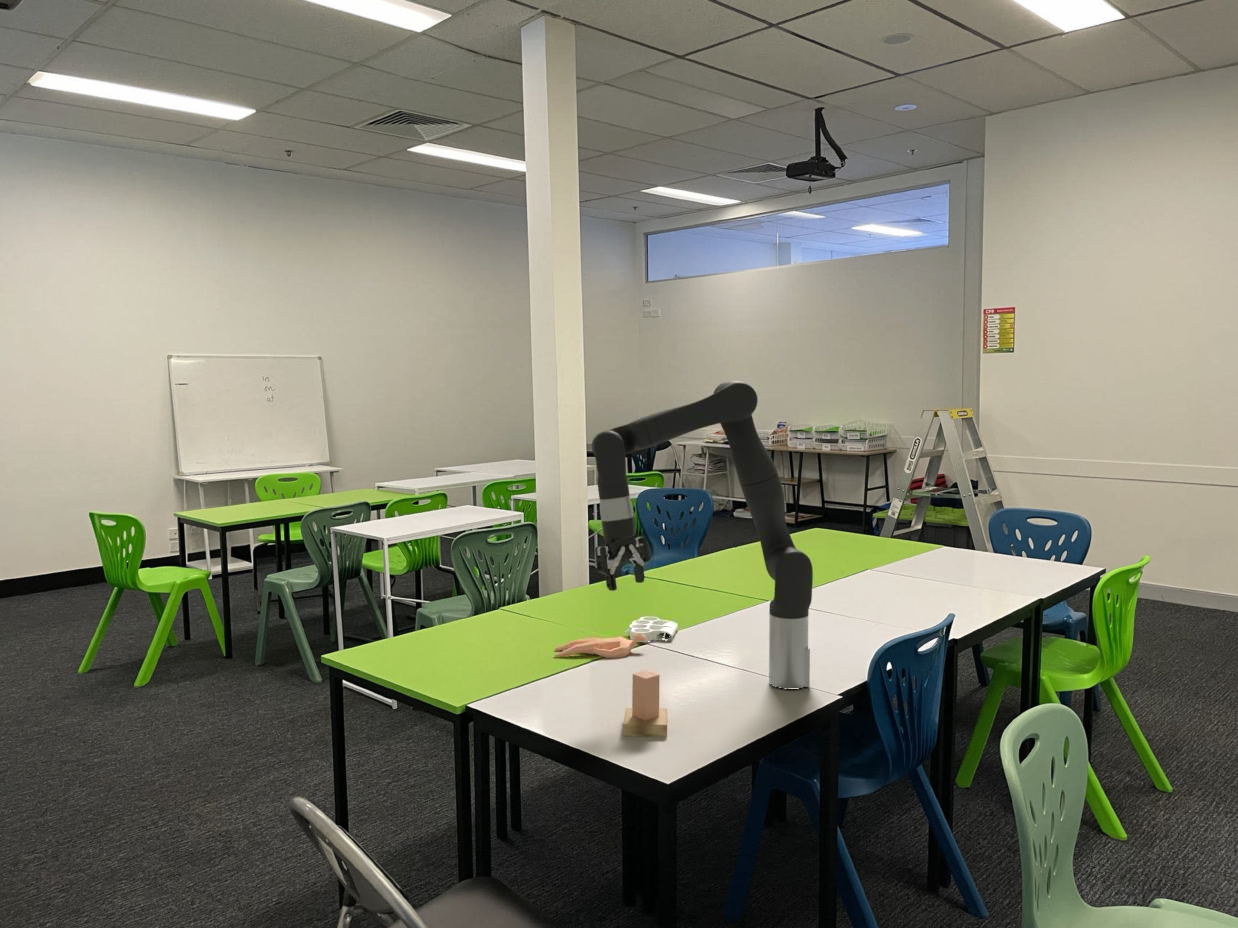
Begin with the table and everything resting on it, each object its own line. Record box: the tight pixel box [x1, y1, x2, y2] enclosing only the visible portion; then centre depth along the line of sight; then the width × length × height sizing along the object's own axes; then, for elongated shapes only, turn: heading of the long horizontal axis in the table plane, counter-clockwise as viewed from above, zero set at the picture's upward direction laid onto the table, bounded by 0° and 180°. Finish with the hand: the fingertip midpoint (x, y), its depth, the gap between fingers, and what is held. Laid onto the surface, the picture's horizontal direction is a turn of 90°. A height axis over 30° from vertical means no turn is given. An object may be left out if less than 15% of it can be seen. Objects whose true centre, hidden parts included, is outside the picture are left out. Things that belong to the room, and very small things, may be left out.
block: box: [631, 669, 660, 721], centre depth 183 cm, size 4×4×9 cm
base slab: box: [622, 707, 668, 738], centre depth 183 cm, size 9×9×3 cm
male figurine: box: [554, 634, 646, 659], centre depth 236 cm, size 11×5×25 cm
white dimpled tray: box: [623, 616, 679, 643], centre depth 253 cm, size 3×18×15 cm
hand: (626, 586), depth 200 cm, fingers open, 8 cm apart
